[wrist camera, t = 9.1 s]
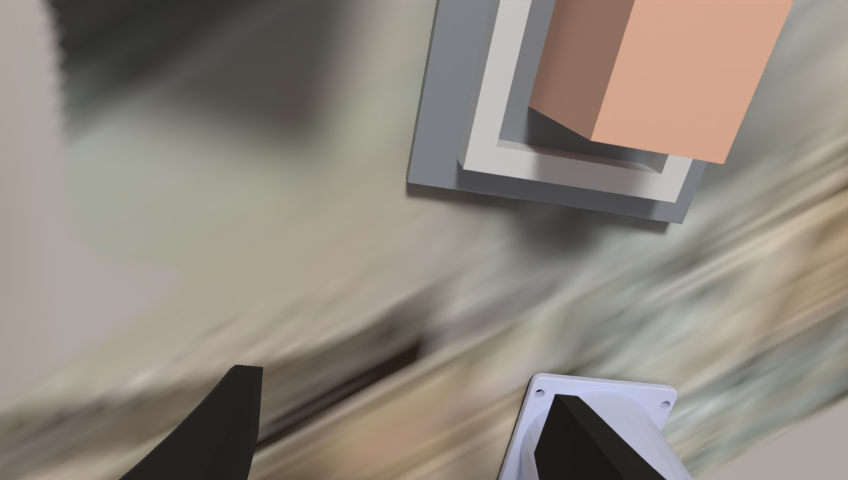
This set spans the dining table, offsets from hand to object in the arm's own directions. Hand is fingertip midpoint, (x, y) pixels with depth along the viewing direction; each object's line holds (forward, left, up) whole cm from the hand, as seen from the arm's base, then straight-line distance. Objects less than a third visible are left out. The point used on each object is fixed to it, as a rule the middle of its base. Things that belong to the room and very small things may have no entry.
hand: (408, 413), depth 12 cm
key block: (+10, -6, -9) cm, 15 cm away
